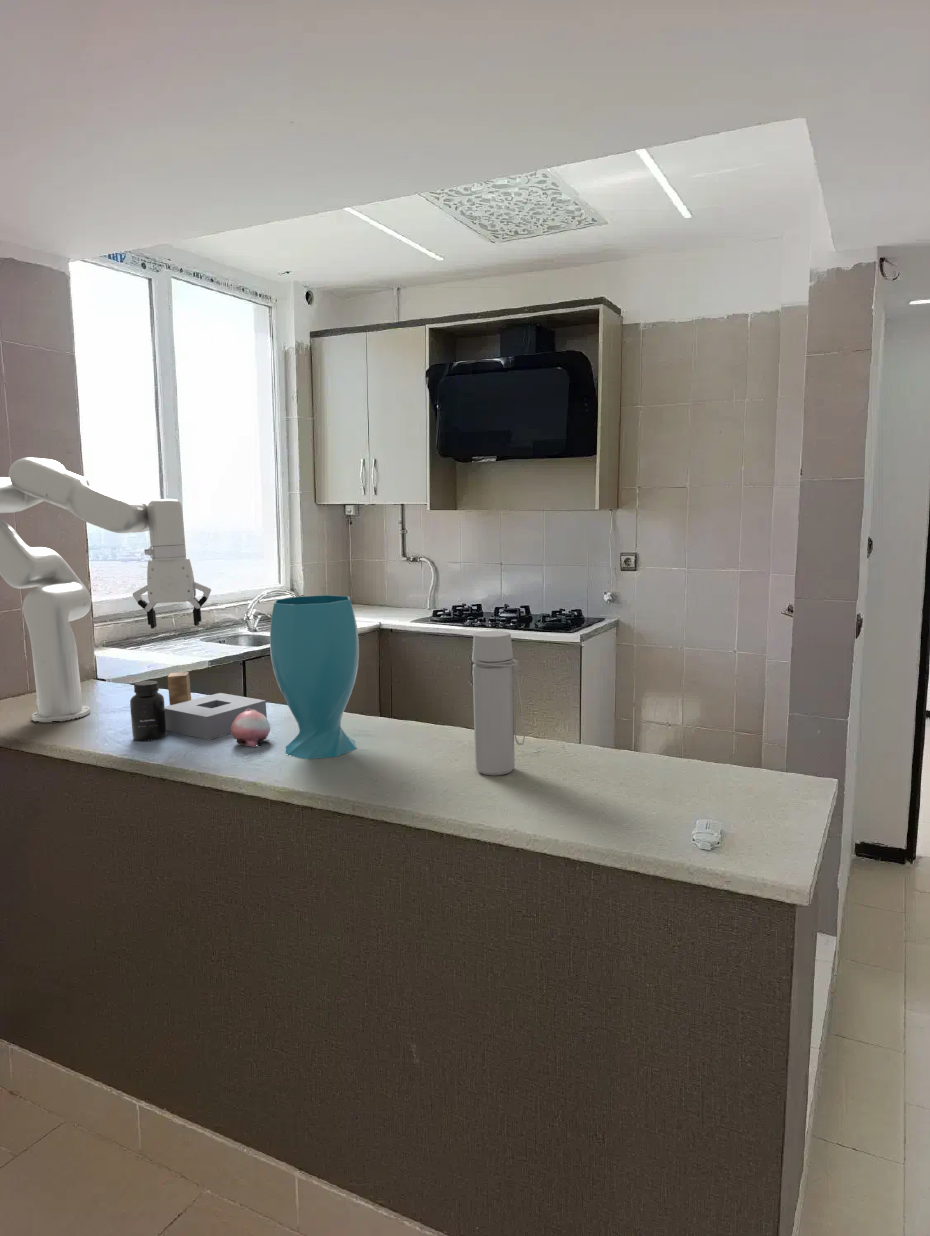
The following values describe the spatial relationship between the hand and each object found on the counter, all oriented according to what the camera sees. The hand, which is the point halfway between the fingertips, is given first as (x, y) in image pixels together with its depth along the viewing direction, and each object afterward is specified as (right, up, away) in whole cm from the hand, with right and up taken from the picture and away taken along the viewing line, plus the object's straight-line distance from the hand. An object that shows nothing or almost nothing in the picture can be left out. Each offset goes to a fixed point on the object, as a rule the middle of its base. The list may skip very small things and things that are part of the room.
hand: (175, 626), depth 188 cm
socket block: (+12, -22, -7) cm, 26 cm away
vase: (+39, -24, -26) cm, 53 cm away
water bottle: (+74, -26, -43) cm, 90 cm away
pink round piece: (+24, -24, -21) cm, 40 cm away
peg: (0, -21, +3) cm, 21 cm away
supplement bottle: (0, -24, -15) cm, 28 cm away
